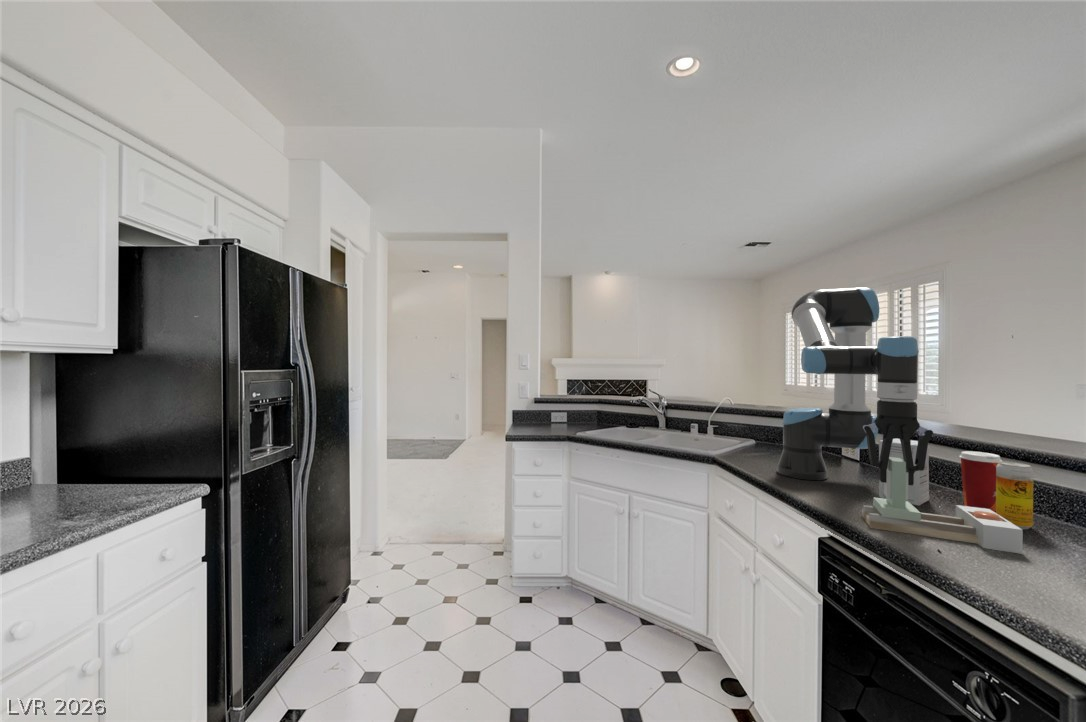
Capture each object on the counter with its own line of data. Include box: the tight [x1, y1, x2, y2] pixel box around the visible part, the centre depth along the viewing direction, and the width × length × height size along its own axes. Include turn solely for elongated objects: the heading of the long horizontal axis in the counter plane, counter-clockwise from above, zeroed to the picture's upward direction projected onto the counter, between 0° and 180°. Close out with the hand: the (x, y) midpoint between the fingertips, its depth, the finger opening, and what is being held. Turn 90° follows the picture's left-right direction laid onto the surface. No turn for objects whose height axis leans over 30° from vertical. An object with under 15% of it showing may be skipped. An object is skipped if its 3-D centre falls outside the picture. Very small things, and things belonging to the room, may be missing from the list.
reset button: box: [974, 511, 1000, 521], centre depth 96 cm, size 4×4×4 cm
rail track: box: [861, 504, 979, 545], centre depth 101 cm, size 9×19×3 cm, turn 64°
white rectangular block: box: [955, 504, 1024, 554], centre depth 96 cm, size 14×6×5 cm, turn 154°
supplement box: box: [878, 438, 930, 507], centre depth 124 cm, size 10×9×17 cm
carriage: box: [872, 457, 922, 522], centre depth 103 cm, size 9×7×13 cm
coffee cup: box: [959, 450, 1004, 513], centre depth 116 cm, size 8×8×15 cm
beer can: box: [995, 461, 1034, 530], centre depth 104 cm, size 6×6×15 cm
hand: (895, 496), depth 103 cm, fingers closed on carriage, 2 cm apart
